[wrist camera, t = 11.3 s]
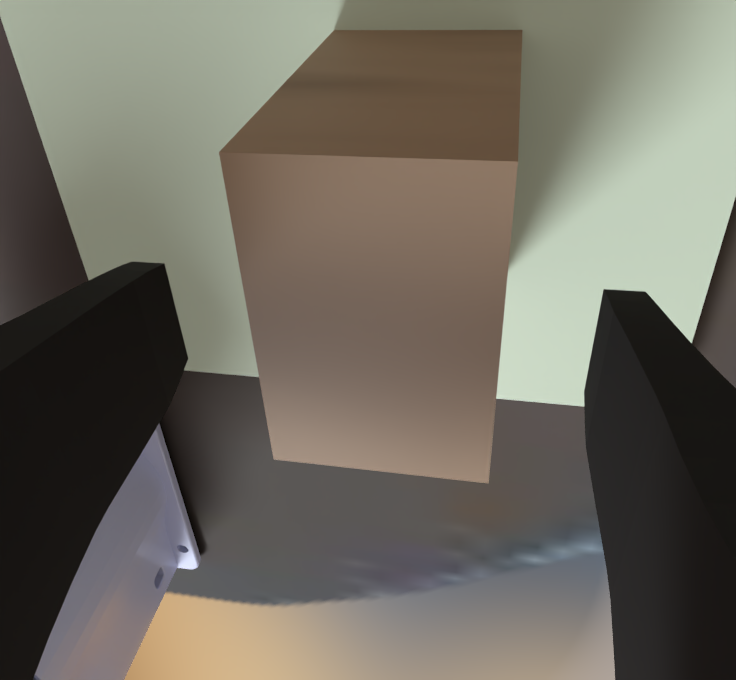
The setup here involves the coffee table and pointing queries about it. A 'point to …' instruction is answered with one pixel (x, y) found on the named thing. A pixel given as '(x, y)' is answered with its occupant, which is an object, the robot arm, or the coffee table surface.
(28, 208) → the coffee table surface
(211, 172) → the pitch
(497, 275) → the tall cardboard box
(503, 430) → the coffee table surface
